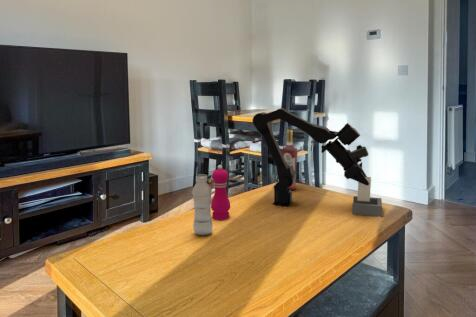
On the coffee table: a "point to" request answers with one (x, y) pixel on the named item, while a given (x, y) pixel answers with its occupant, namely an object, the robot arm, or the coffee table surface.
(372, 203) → the frame
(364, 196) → the white rectangular block
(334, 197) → the coffee table surface
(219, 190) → the pepper mill
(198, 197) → the plastic bottle
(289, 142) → the liquor
